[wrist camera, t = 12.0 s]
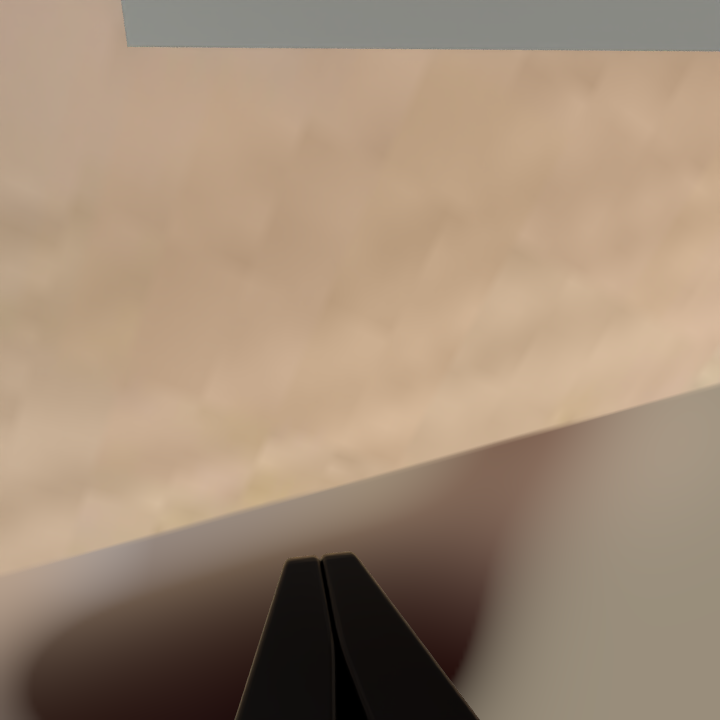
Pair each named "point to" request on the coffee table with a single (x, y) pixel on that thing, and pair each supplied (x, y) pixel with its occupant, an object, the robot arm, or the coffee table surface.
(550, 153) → the coffee table surface
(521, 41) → the card
